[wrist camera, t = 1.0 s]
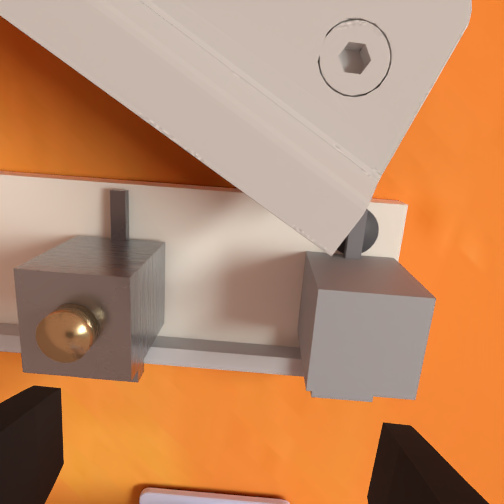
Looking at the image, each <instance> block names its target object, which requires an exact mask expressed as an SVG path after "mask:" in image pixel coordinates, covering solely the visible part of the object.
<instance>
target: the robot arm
mask: <svg viewBox="0 0 504 504" xmlns="http://www.w3.org/2000/svg"><path fill="white" fill-rule="evenodd" d="M63 464H64V460H63V434H62V407H61V388H53V387H43V386H32V387H30V388H28V389H26V390H24V391H22V392H20V393H18V394H16V395H14V396H13V397H11V398H9V399H7V400H5V401H4V402H2V403H0V504H45V502H46V500H47V498H48V496H49V494H50V492H51V490H52V488H53V486H54V483H55V481H56V479H57V477H58V475H59V473H60V470H61V468H62V466H63ZM367 498H368V504H489V503H488V502H487V501H486V500H485V499H484V498H483V497H482V496H481V495H480V494H479V493H478V492H477V491H476V490H475V489H473V488H472V487H471V486H470V485H469V484H468V483H467V482H466V481H465V479H464V478H463V477H462V476H461V475H460V474H459V473H458V472H457V471H456V470H455V469H454V468H453V467H452V466H451V465H450V464H449V463H448V462H447V461H446V460H445V459H444V458H443V457H442V456H441V455H440V454H439V453H438V452H437V451H436V450H435V449H434V448H433V447H432V446H431V445H430V444H429V443H428V442H427V441H426V440H425V439H424V438H423V437H422V436H421V435H420V434H419V433H418V432H417V431H416V430H415V429H414V428H413V427H412V426H410V425H401V424H391V423H383V425H382V430H381V435H380V439H379V444H378V449H377V453H376V458H375V463H374V467H373V472H372V477H371V481H370V486H369V491H368V496H367ZM139 504H290V503H289V502H288V501H286V500H283V499H273V498H262V497H251V496H239V495H228V494H217V493H206V492H194V491H183V490H172V489H161V488H145V489H143V490H142V492H141V495H140V498H139Z"/></svg>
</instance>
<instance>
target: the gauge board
mask: <svg viewBox="0 0 504 504" xmlns="http://www.w3.org/2000/svg"><path fill="white" fill-rule="evenodd" d="M112 189H121V190H129V239H131V240H144V241H157V242H165V312H164V324H163V326H162V328H161V330H160V332H159V333H158V335H157V337H156V339H155V340H154V342H153V344H152V346H151V348H150V349H149V351H148V353H147V355H146V356H145V358H144V363H148V364H160V365H172V366H184V367H196V368H208V369H220V370H232V371H244V372H256V373H268V374H280V375H292V376H304V379H305V386H306V391H311V397H318V398H330V399H342V400H354V401H366V402H372V399H373V396H375V397H387V398H399V399H411V400H415V398H416V394H417V389H418V384H419V379H420V374H421V369H422V364H423V359H424V355H425V350H426V345H427V340H428V335H429V330H430V325H431V321H432V316H433V311H434V306H435V301H436V298H435V297H434V296H433V295H432V294H431V293H430V292H429V291H428V290H427V289H426V288H425V287H424V286H423V285H421V284H420V283H419V282H418V281H417V280H416V279H415V278H414V277H413V276H412V275H411V274H410V273H409V272H408V271H407V270H406V269H405V268H404V267H403V266H402V265H401V264H400V263H399V262H398V260H399V254H400V248H401V243H402V237H403V231H404V225H405V220H406V214H407V208H408V205H407V204H405V203H403V202H401V201H399V200H385V199H372V198H371V201H370V203H369V205H368V207H367V209H366V211H365V212H364V214H363V216H362V217H361V218H360V220H359V221H358V222H357V223H356V225H355V226H354V227H353V229H352V230H351V231H350V233H349V234H348V235H347V237H346V238H345V239H344V240H343V242H342V243H341V244H340V246H339V247H338V248H337V250H336V251H335V252H334V254H333V255H332V256H330V255H328V254H327V253H326V252H324V251H323V250H322V249H320V248H319V247H317V246H316V245H315V244H313V243H312V242H311V241H309V240H308V239H306V238H305V237H304V236H302V235H301V234H300V233H298V232H297V231H296V230H294V229H293V228H291V227H290V226H289V225H287V224H286V223H285V222H283V221H282V220H280V219H279V218H278V217H276V216H275V215H274V214H272V213H271V212H269V211H268V210H267V209H265V208H264V207H263V206H261V205H260V204H258V203H257V202H256V201H254V200H253V199H252V198H250V197H249V196H247V195H246V194H245V193H243V192H242V191H241V190H239V189H238V188H224V187H211V186H197V185H184V184H170V183H157V182H144V181H130V180H117V179H103V178H90V177H77V176H63V175H50V174H36V173H23V172H10V171H0V351H4V352H16V353H21V345H20V335H19V324H18V313H17V303H16V292H15V281H14V270H13V268H15V267H17V266H19V265H21V264H23V263H25V262H27V261H29V260H31V259H33V258H35V257H37V256H39V255H41V254H43V253H45V252H46V251H48V250H50V249H52V248H54V247H56V246H58V245H60V244H62V243H64V242H66V241H68V240H70V239H72V238H74V237H76V236H78V235H79V236H92V237H105V238H111V217H110V190H112Z"/></svg>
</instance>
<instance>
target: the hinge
mask: <svg viewBox="0 0 504 504" xmlns="http://www.w3.org/2000/svg"><path fill="white" fill-rule="evenodd" d="M471 11H472V0H0V16H2V17H3V18H4V19H6V20H7V21H8V22H10V23H11V24H13V25H14V26H15V27H17V28H18V29H19V30H21V31H22V32H23V33H25V34H26V35H28V36H29V37H30V38H32V39H33V40H34V41H36V42H37V43H39V44H40V45H41V46H43V47H44V48H45V49H47V50H48V51H50V52H51V53H52V54H54V55H55V56H56V57H58V58H59V59H61V60H62V61H63V62H65V63H66V64H67V65H69V66H70V67H72V68H73V69H74V70H76V71H77V72H78V73H80V74H81V75H83V76H84V77H85V78H87V79H88V80H89V81H91V82H92V83H94V84H95V85H96V86H98V87H99V88H100V89H102V90H103V91H105V92H106V93H107V94H109V95H110V96H111V97H113V98H114V99H116V100H117V101H118V102H120V103H121V104H122V105H124V106H125V107H127V108H128V109H129V110H131V111H132V112H133V113H135V114H136V115H138V116H139V117H140V118H142V119H143V120H144V121H146V122H147V123H149V124H150V125H151V126H153V127H154V128H155V129H157V130H158V131H159V132H161V133H162V134H164V135H165V136H166V137H168V138H169V139H170V140H172V141H173V142H175V143H176V144H177V145H179V146H180V147H181V148H183V149H184V150H186V151H187V152H188V153H190V154H191V155H192V156H194V157H195V158H197V159H198V160H199V161H201V162H202V163H203V164H205V165H206V166H208V167H209V168H210V169H212V170H213V171H214V172H216V173H217V174H219V175H220V176H221V177H223V178H224V179H225V180H227V181H228V182H230V183H231V184H232V185H234V186H235V187H236V188H238V189H239V190H241V191H242V192H243V193H245V194H246V195H247V196H249V197H250V198H252V199H253V200H254V201H256V202H257V203H258V204H260V205H261V206H263V207H264V208H265V209H267V210H268V211H269V212H271V213H272V214H274V215H275V216H276V217H278V218H279V219H280V220H282V221H283V222H285V223H286V224H287V225H289V226H290V227H291V228H293V229H294V230H296V231H297V232H298V233H300V234H301V235H302V236H304V237H305V238H306V239H308V240H309V241H311V242H312V243H313V244H315V245H316V246H317V247H319V248H320V249H322V250H323V251H324V252H326V253H327V254H328V255H330V256H332V255H333V254H334V252H335V251H336V250H337V248H338V247H339V246H340V244H341V243H342V242H343V240H344V239H345V238H346V237H347V235H348V234H349V233H350V231H351V230H352V229H353V227H354V226H355V225H356V223H357V222H358V221H359V220H360V218H361V217H362V216H363V214H364V212H365V211H366V209H367V207H368V205H369V203H370V201H371V198H372V196H373V193H374V191H375V188H376V186H377V184H378V181H379V179H380V177H381V176H382V174H383V172H384V170H385V169H386V167H387V165H388V163H389V162H390V160H391V158H392V156H393V155H394V153H395V151H396V150H397V148H398V146H399V144H400V143H401V141H402V139H403V137H404V136H405V134H406V132H407V130H408V129H409V127H410V125H411V123H412V122H413V120H414V118H415V117H416V115H417V113H418V111H419V110H420V108H421V106H422V104H423V103H424V101H425V99H426V97H427V96H428V94H429V92H430V90H431V89H432V87H433V85H434V84H435V82H436V80H437V78H438V77H439V75H440V73H441V71H442V70H443V68H444V66H445V64H446V63H447V61H448V59H449V57H450V56H451V54H452V52H453V51H454V49H455V47H456V45H457V44H458V42H459V40H460V38H461V37H462V35H463V33H464V31H465V30H466V28H467V26H468V24H469V20H470V16H471Z"/></svg>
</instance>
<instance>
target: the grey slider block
mask: <svg viewBox="0 0 504 504" xmlns="http://www.w3.org/2000/svg"><path fill="white" fill-rule="evenodd" d="M110 217H111V238H105V237H92V236H79V235H78V236H76V237H74V238H72V239H70V240H68V241H66V242H64V243H62V244H60V245H58V246H56V247H54V248H52V249H50V250H48V251H46V252H45V253H43V254H41V255H39V256H37V257H35V258H33V259H31V260H29V261H27V262H25V263H23V264H21V265H19V266H17V267H15V268H13V270H14V281H15V292H16V303H17V313H18V324H19V335H20V345H21V356H22V367H23V372H25V373H37V374H49V375H61V376H73V377H81V378H93V379H105V380H117V381H128V382H138V381H139V379H140V378H141V376H142V374H143V372H144V358H145V356H146V355H147V353H148V351H149V349H150V348H151V346H152V344H153V342H154V340H155V339H156V337H157V335H158V333H159V332H160V330H161V328H162V326H163V324H164V312H165V242H157V241H144V240H131V239H129V190H121V189H112V190H110Z"/></svg>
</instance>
